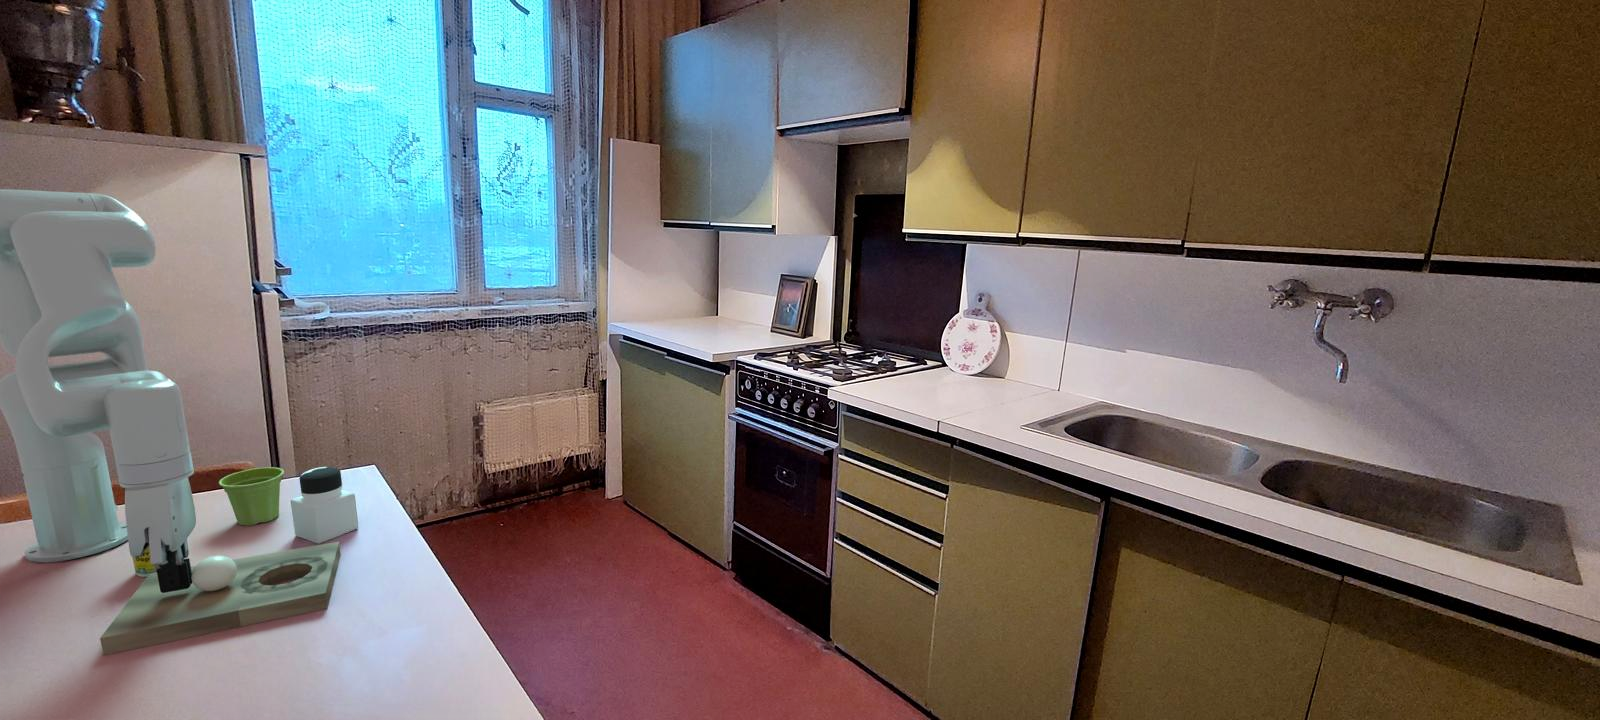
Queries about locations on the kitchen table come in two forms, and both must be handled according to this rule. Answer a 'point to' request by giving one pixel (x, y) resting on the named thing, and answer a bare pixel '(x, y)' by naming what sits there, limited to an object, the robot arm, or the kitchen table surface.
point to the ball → (214, 573)
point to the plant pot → (254, 494)
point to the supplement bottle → (144, 564)
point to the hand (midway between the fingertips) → (177, 587)
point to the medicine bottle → (323, 506)
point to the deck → (227, 599)
